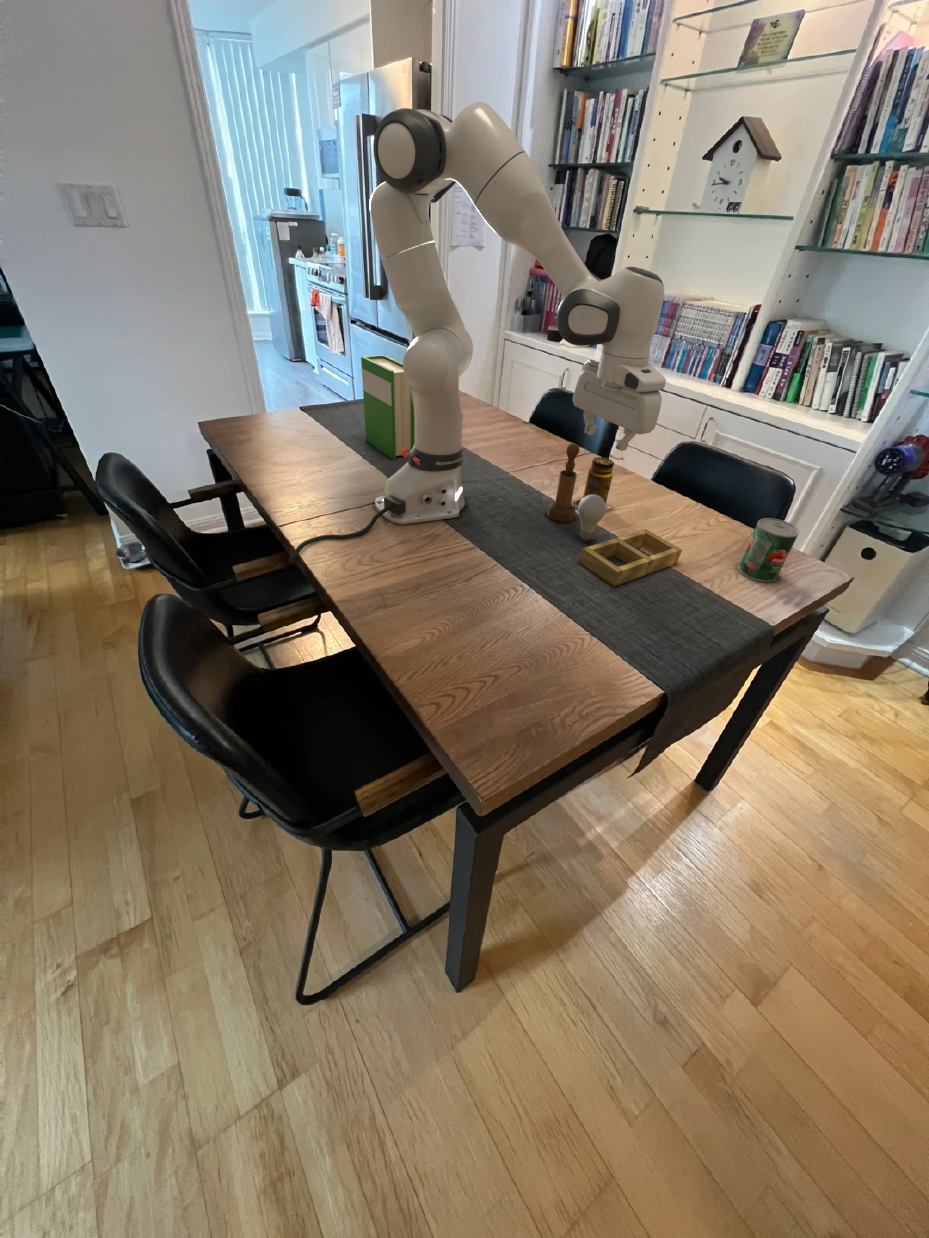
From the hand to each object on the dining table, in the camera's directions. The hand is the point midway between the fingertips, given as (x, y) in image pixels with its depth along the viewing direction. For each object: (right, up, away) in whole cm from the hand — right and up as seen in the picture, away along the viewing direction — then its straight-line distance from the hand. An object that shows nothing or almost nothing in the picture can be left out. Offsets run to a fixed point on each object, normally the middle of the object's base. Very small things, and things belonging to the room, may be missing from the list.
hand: (604, 441), depth 109 cm
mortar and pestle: (-5, -11, +21) cm, 25 cm away
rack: (+7, -25, +5) cm, 26 cm away
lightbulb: (-1, -19, +12) cm, 23 cm away
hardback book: (-52, +15, +52) cm, 75 cm away
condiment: (+4, -8, +27) cm, 28 cm away
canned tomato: (+35, -27, +5) cm, 44 cm away
